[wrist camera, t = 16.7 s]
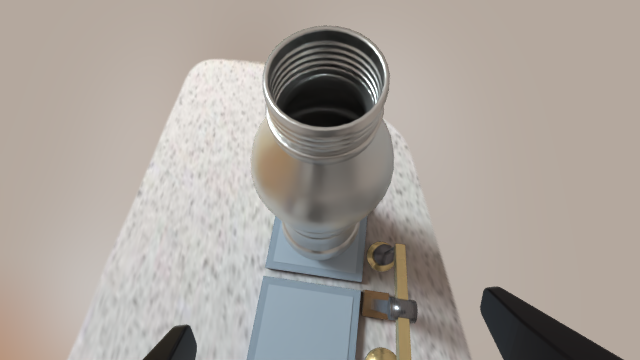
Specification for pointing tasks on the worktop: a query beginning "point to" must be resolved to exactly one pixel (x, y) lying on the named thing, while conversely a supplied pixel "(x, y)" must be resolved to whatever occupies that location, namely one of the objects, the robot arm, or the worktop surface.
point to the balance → (390, 300)
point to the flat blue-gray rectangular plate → (337, 267)
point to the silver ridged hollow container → (323, 138)
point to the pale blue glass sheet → (304, 322)
